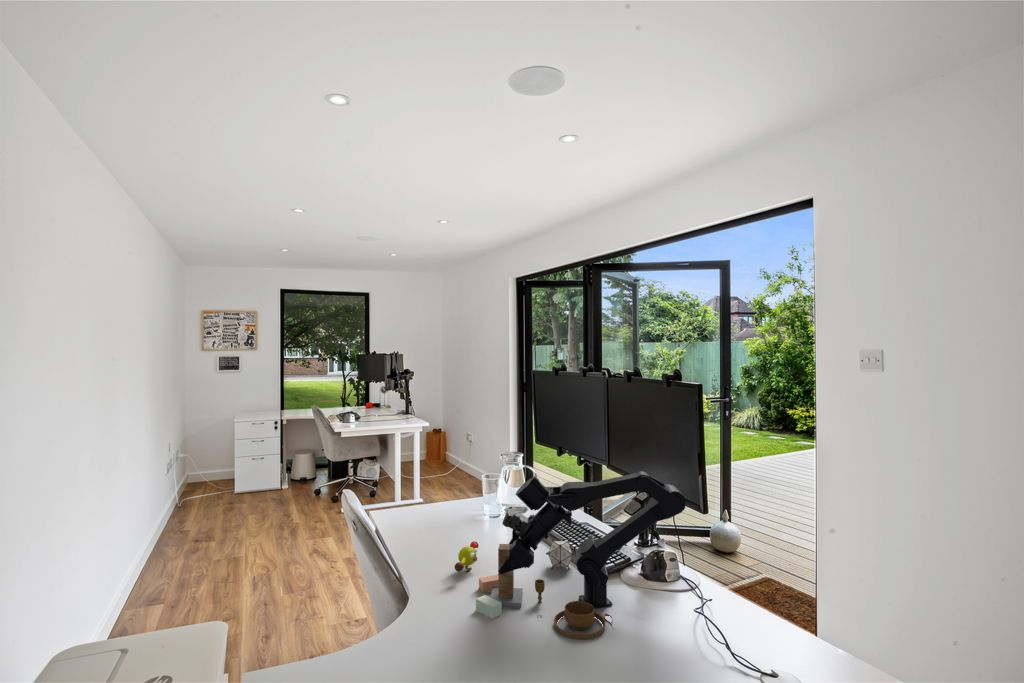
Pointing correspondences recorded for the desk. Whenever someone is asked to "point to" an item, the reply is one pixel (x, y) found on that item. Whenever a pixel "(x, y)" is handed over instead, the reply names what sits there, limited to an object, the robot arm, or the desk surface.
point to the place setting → (574, 615)
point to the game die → (560, 554)
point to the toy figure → (467, 557)
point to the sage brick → (488, 606)
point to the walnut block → (505, 574)
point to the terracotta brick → (488, 583)
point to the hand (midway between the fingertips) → (500, 564)
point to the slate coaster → (509, 603)
